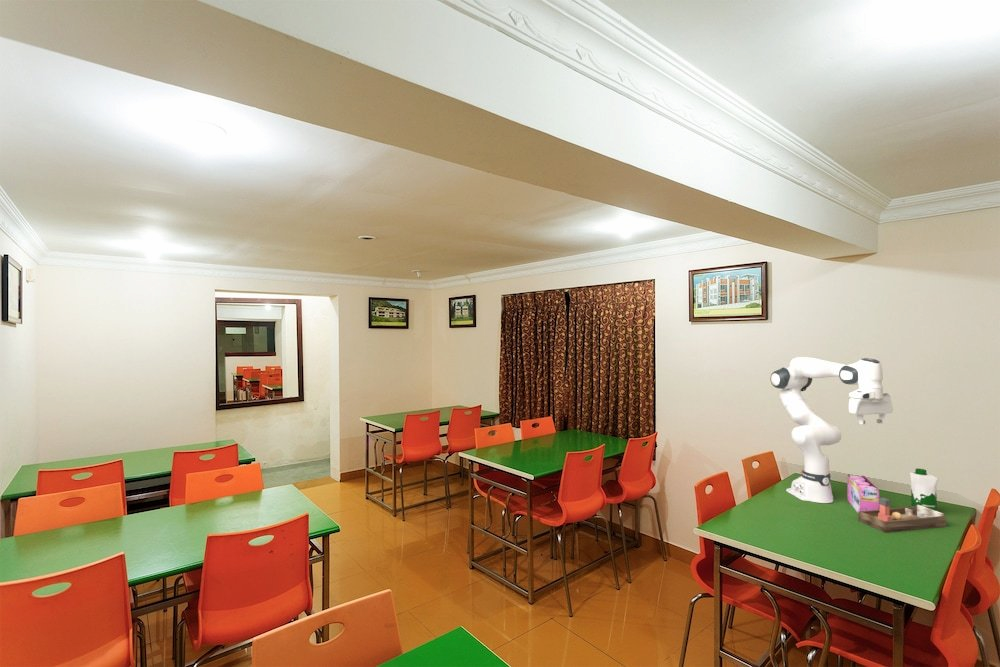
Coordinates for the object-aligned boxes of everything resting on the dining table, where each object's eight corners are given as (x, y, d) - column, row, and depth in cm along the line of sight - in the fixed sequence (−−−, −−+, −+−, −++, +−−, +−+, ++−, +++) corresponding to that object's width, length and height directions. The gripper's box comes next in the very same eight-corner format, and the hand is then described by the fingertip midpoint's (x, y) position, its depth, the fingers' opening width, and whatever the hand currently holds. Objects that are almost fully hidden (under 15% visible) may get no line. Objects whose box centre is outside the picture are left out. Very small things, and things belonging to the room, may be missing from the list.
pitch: (858, 521, 221) (858, 509, 221) (916, 515, 226) (916, 504, 226) (885, 532, 208) (885, 520, 208) (946, 526, 213) (946, 514, 213)
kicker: (877, 518, 218) (877, 497, 218) (882, 518, 218) (882, 497, 218) (887, 522, 213) (886, 500, 213) (891, 522, 214) (891, 500, 214)
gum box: (846, 499, 249) (845, 473, 249) (864, 501, 246) (864, 474, 246) (859, 515, 227) (859, 487, 227) (880, 518, 224) (879, 489, 224)
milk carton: (928, 509, 234) (928, 468, 234) (941, 516, 225) (940, 474, 225) (908, 508, 236) (907, 467, 236) (919, 514, 227) (918, 473, 227)
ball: (889, 518, 218) (889, 511, 218) (896, 518, 219) (896, 510, 219) (897, 521, 215) (897, 513, 215) (904, 521, 215) (903, 513, 215)
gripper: (883, 392, 224) (883, 421, 224) (845, 393, 221) (846, 423, 221) (896, 393, 218) (896, 423, 218) (857, 395, 215) (858, 426, 215)
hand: (871, 423), depth 219 cm, fingers open, 8 cm apart
